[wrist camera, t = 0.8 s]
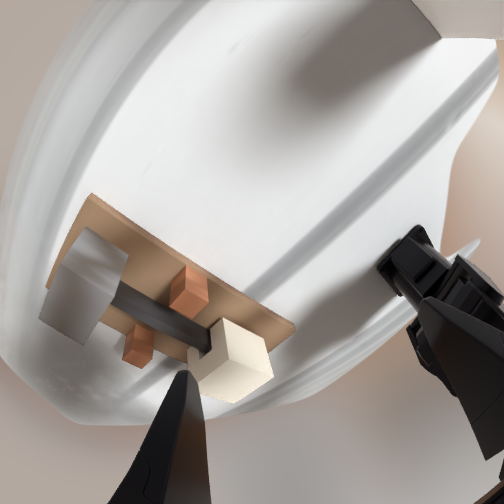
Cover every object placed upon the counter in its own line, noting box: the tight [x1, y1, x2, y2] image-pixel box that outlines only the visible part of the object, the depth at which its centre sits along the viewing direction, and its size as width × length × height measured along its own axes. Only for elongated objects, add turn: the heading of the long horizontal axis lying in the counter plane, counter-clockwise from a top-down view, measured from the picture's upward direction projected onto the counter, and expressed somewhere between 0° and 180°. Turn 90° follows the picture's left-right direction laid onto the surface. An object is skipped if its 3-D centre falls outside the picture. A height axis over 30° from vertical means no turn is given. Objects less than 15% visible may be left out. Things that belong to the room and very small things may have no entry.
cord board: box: [38, 193, 296, 369], centre depth 21 cm, size 22×10×6 cm, turn 47°
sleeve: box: [187, 318, 274, 404], centre depth 24 cm, size 5×5×5 cm
